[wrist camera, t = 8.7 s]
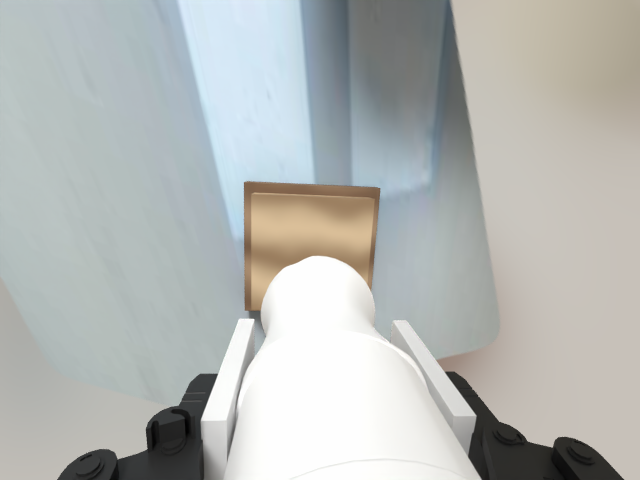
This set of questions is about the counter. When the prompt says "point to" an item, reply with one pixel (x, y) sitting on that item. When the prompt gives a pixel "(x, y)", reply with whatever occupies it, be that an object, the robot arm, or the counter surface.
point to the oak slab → (306, 234)
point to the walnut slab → (302, 190)
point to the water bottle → (335, 391)
